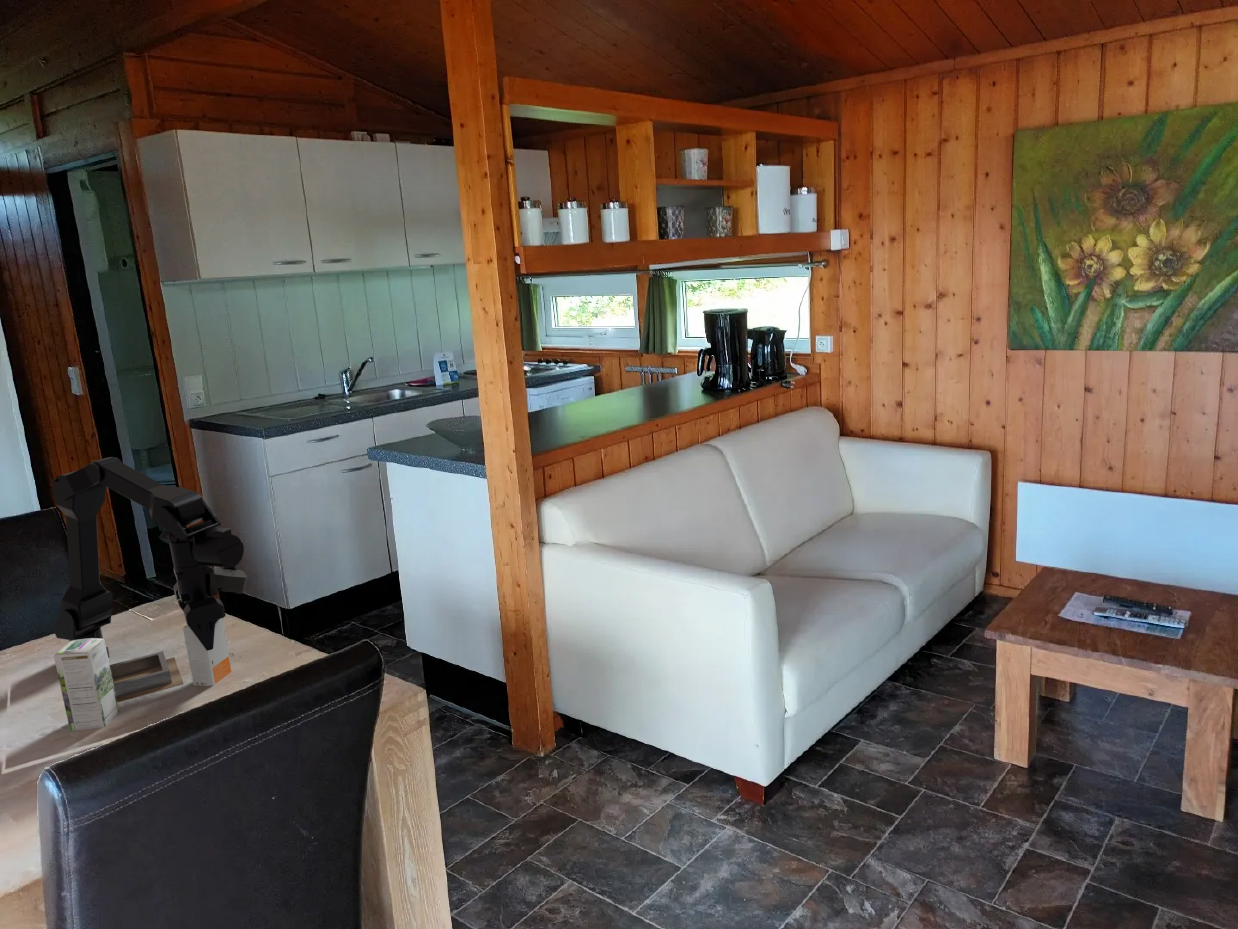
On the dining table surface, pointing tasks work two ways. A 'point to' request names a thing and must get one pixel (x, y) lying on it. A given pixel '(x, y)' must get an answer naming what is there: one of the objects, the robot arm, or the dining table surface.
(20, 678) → the dining table surface
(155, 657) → the metal collar
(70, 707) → the syrup box
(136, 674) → the walnut stand
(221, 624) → the skincare box
